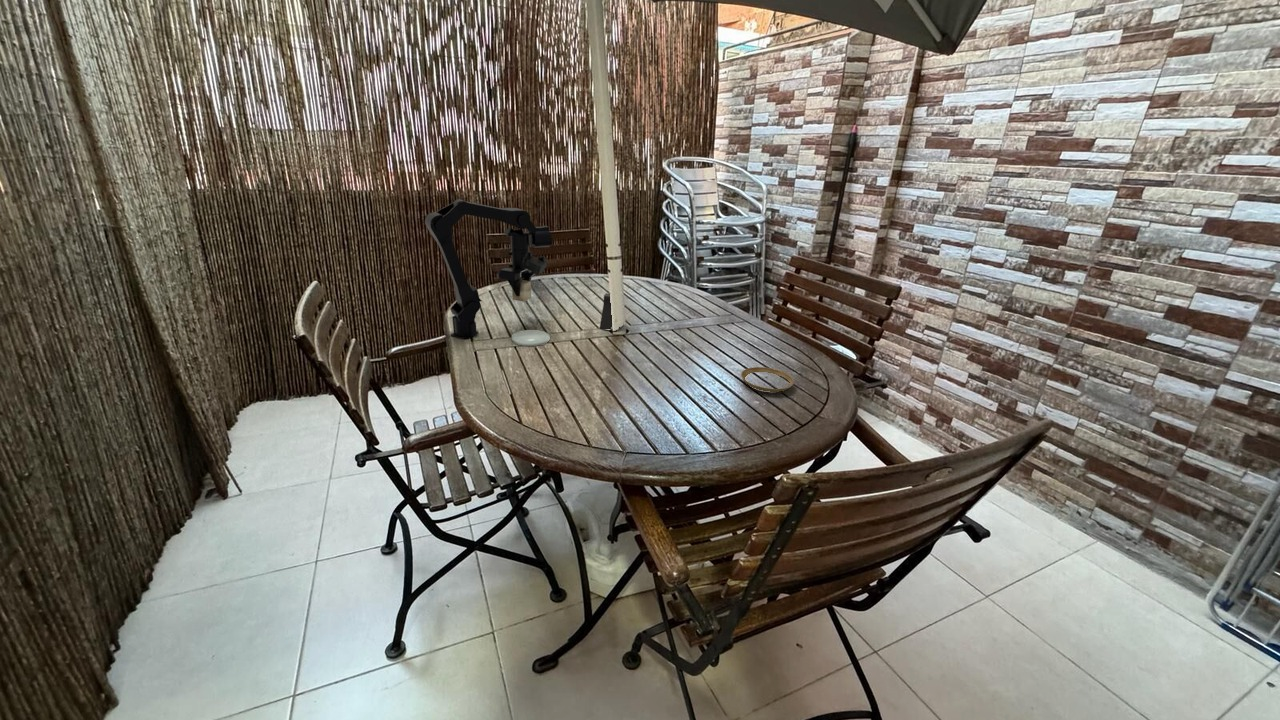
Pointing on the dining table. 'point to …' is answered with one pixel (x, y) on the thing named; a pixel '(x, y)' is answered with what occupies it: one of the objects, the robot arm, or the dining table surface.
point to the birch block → (523, 291)
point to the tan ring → (769, 370)
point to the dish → (530, 337)
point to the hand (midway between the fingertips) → (521, 294)
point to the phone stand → (606, 313)
